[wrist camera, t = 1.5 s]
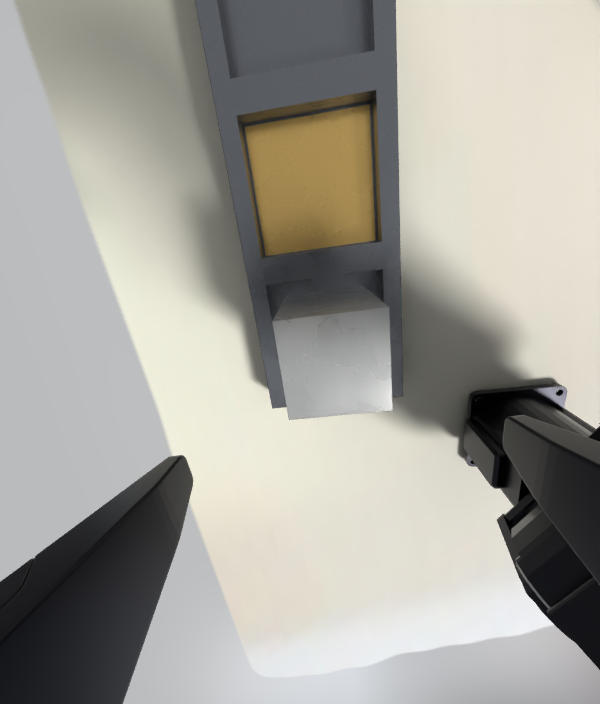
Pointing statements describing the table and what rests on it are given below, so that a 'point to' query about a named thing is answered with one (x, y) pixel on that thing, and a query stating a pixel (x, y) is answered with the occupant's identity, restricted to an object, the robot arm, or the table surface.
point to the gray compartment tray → (310, 151)
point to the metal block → (334, 353)
